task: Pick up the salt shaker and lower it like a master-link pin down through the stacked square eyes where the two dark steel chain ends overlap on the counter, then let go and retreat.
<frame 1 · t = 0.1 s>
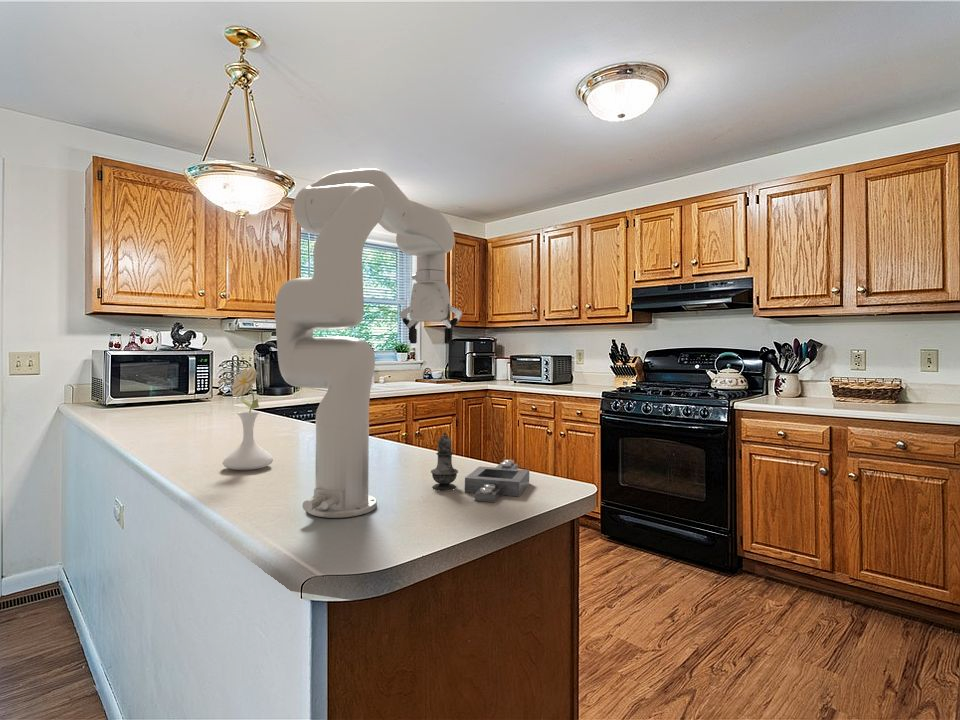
hand: (430, 343, 142), 31 cm above the worktop, tool pointing down, fingers open, 9 cm apart
flower in vase: (248, 469, 130), on the worktop
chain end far: (498, 487, 115), on the worktop
salt shaker: (444, 488, 115), on the worktop
chain end near: (498, 487, 115), on the worktop
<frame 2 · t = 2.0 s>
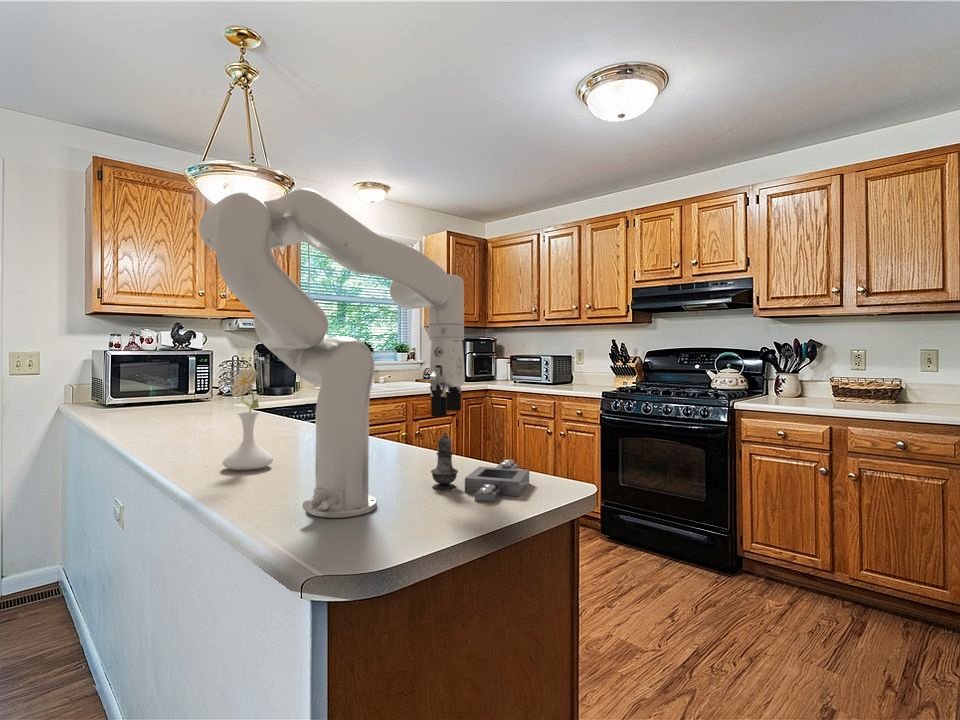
hand: (446, 413, 115), 16 cm above the worktop, tool pointing down, fingers open, 9 cm apart
nothing on the worktop moved.
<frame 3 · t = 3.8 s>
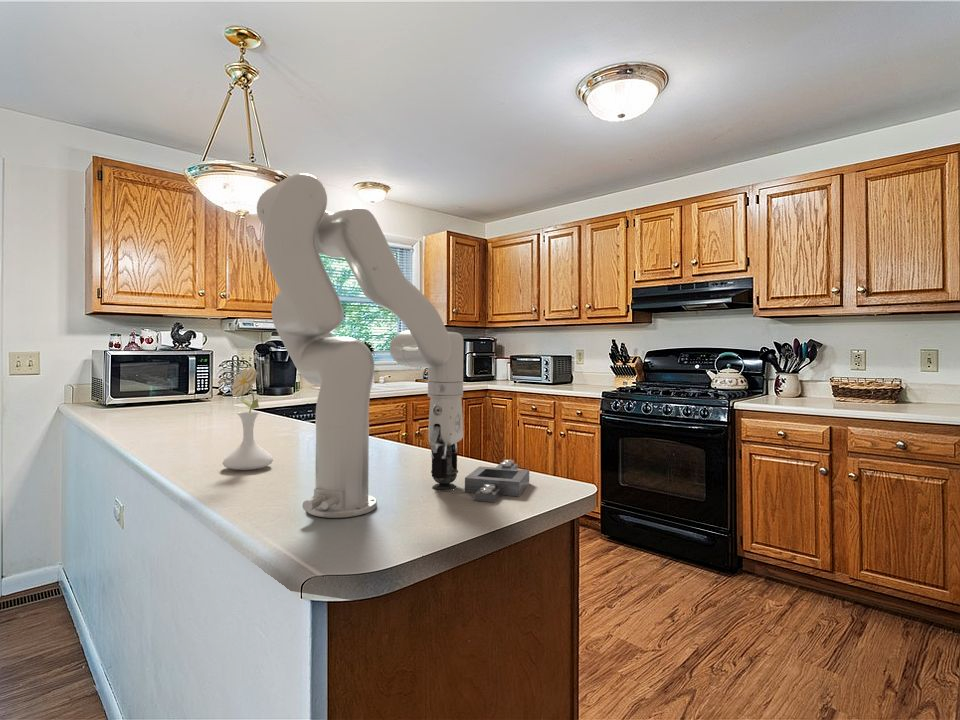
hand: (444, 473, 115), 3 cm above the worktop, tool pointing down, fingers closed on salt shaker, 5 cm apart
salt shaker: (444, 488, 115), on the worktop, touching gripper
everything else where it was.
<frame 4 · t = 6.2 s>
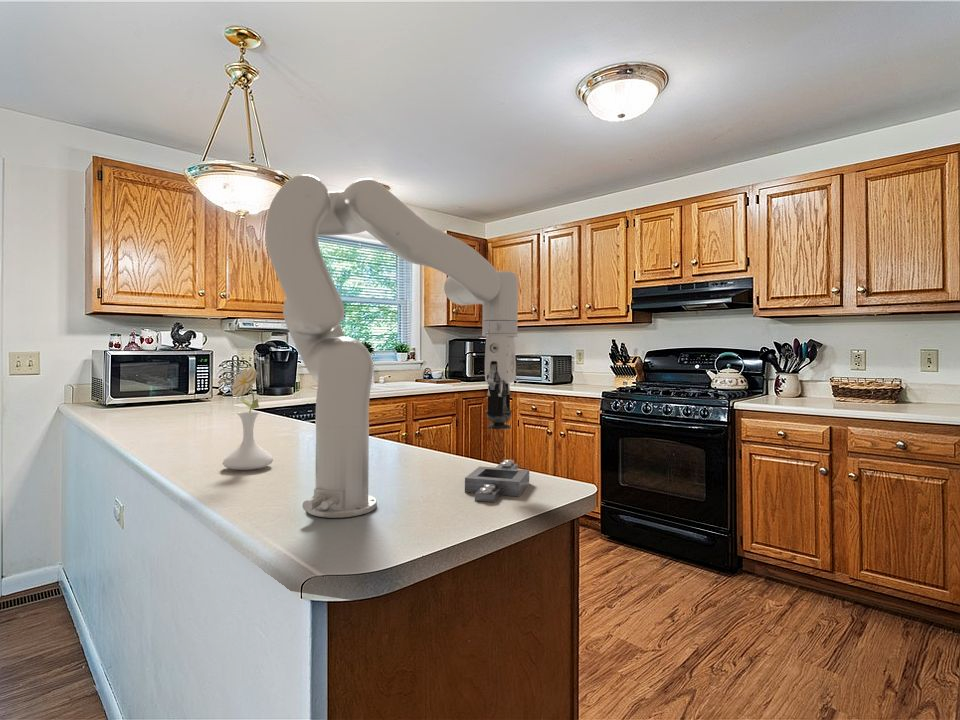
hand: (499, 413, 115), 16 cm above the worktop, tool pointing down, fingers closed on salt shaker, 5 cm apart
salt shaker: (498, 428, 115), point 13 cm above the worktop, touching gripper
everything else where it was.
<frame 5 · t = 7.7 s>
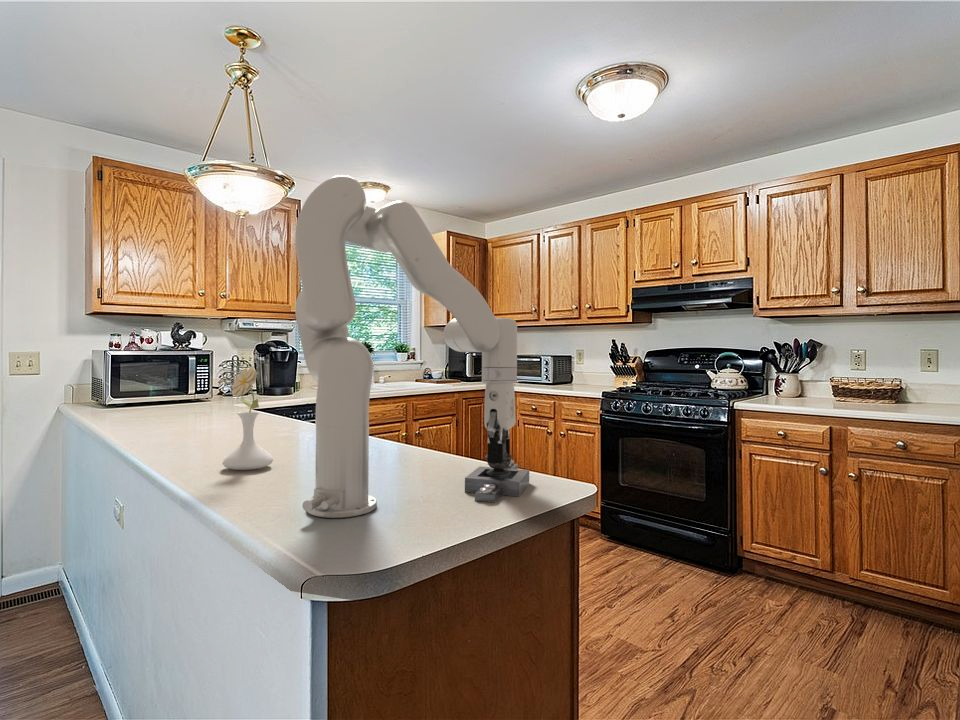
hand: (498, 458, 115), 6 cm above the worktop, tool pointing down, fingers closed on salt shaker, 5 cm apart
salt shaker: (498, 473, 115), point 3 cm above the worktop, touching gripper
everything else where it was.
when the fingers open (4 cm above the worktop, at t = 9.0 s): salt shaker drops 1 cm, resting in chain end near.
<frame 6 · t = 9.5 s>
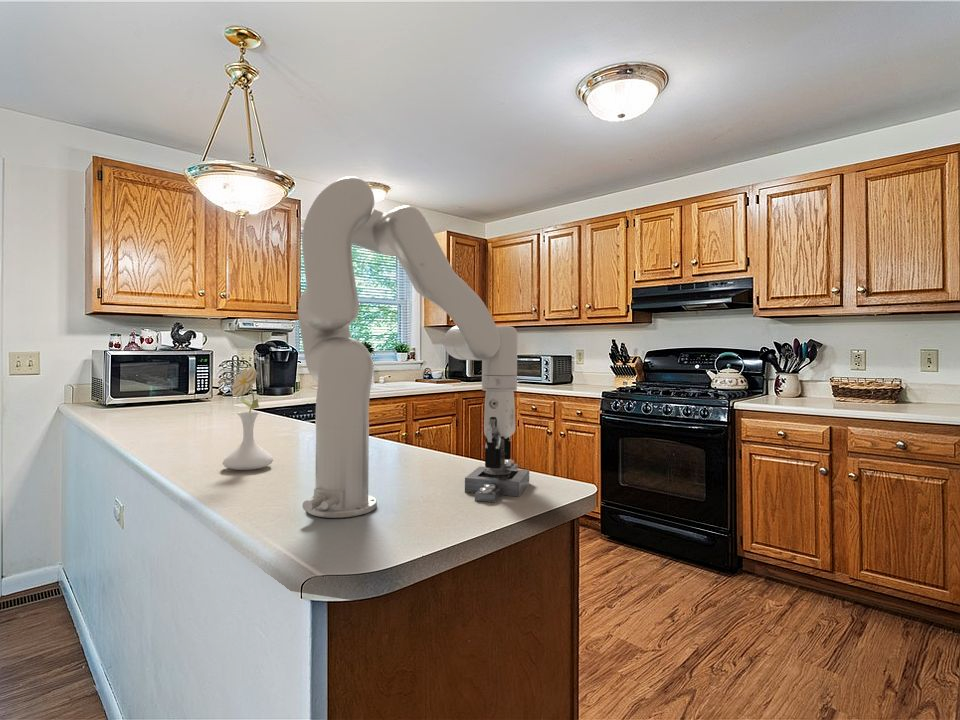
hand: (498, 463, 115), 5 cm above the worktop, tool pointing down, fingers open, 9 cm apart
salt shaker: (497, 488, 115), resting in chain end near
everything else where it was.
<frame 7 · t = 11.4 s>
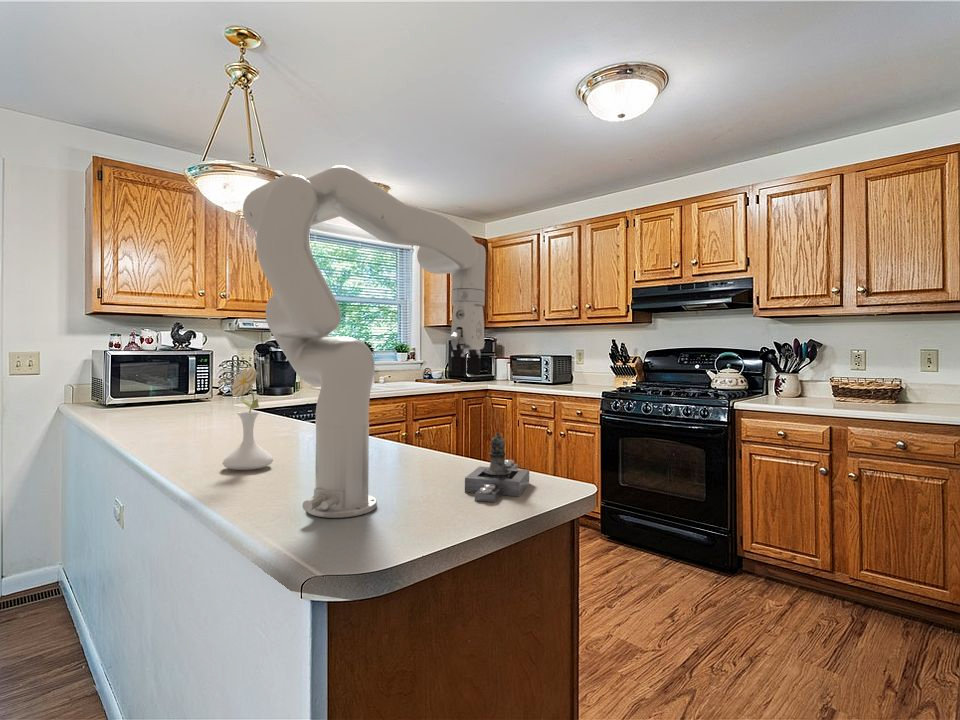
hand: (466, 375, 120), 24 cm above the worktop, tool pointing down, fingers open, 9 cm apart
nothing on the worktop moved.
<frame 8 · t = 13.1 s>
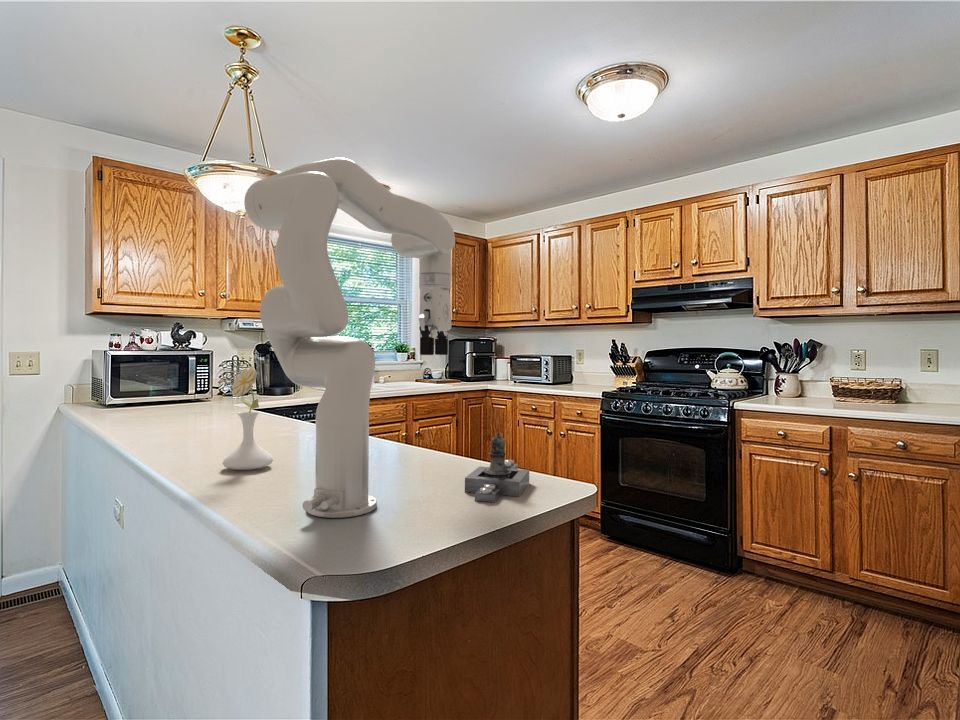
hand: (434, 354, 128), 28 cm above the worktop, tool pointing down, fingers open, 9 cm apart
nothing on the worktop moved.
at the end: salt shaker 0.1 cm off-centre on the chain end near, point 0.0 cm above the chain end near's base; salt shaker tilted 0°; the gripper is holding nothing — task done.
